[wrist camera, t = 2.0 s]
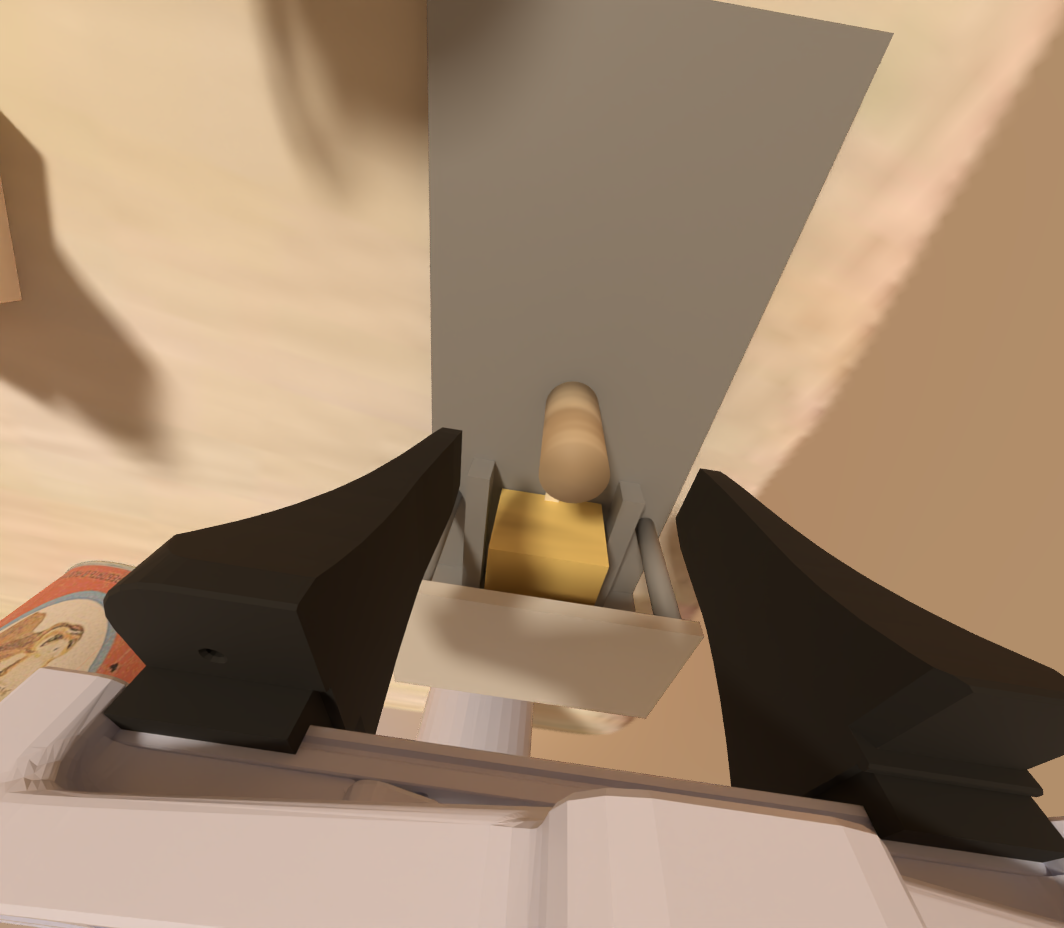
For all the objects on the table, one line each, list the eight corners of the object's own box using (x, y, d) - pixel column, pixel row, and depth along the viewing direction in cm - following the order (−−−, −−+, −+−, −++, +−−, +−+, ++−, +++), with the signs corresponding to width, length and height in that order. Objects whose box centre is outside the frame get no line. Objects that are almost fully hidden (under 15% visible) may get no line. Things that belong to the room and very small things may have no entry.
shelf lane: (625, 590, 24) (645, 718, 18) (438, 561, 24) (395, 681, 18) (867, 47, 10) (1287, -180, 4) (437, -31, 10) (249, -383, 4)
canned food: (213, 585, 27) (8, 802, 17) (232, 661, 33) (91, 852, 23) (41, 543, 26) (-288, 751, 16) (95, 630, 32) (-117, 818, 22)
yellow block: (576, 580, 22) (579, 668, 18) (492, 568, 22) (474, 653, 18) (637, 390, 15) (665, 459, 11) (516, 370, 15) (497, 432, 11)
